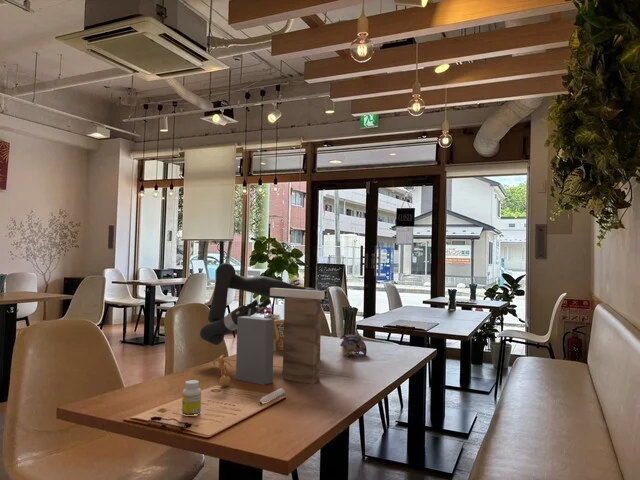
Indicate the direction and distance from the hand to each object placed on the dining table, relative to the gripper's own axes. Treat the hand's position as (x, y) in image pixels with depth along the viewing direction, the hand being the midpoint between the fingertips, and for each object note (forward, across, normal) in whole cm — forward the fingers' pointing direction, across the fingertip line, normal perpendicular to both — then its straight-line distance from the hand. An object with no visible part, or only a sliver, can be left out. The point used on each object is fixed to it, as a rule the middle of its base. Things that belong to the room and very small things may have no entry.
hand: (263, 301), depth 201 cm
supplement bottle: (-2, -54, +33) cm, 63 cm away
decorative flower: (-3, +54, +33) cm, 64 cm away
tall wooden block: (+2, 0, +35) cm, 35 cm away
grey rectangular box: (-10, -12, +28) cm, 32 cm away
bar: (+15, 0, +6) cm, 17 cm away
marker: (+7, -28, +38) cm, 48 cm away
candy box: (-35, +43, +14) cm, 58 cm away
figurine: (-13, -26, +27) cm, 39 cm away
